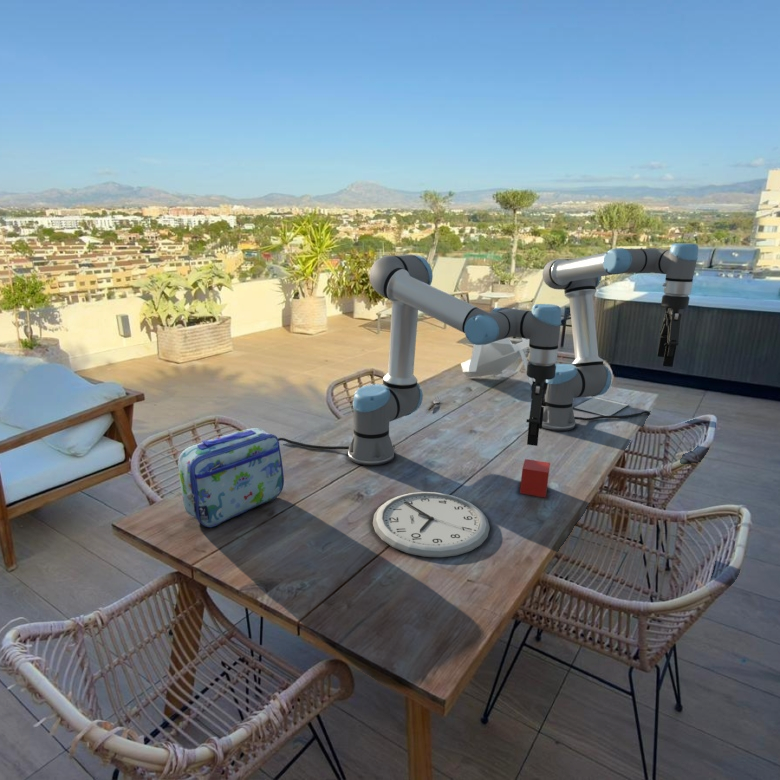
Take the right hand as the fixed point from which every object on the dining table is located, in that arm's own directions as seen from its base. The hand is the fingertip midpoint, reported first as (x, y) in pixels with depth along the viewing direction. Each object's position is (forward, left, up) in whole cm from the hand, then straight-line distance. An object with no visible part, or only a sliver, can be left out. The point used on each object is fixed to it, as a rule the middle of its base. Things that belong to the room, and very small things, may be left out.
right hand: (664, 361), depth 169 cm
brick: (+42, +32, -33) cm, 62 cm away
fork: (+75, -39, -33) cm, 90 cm away
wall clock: (+72, +54, -33) cm, 95 cm away
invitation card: (+2, -50, -33) cm, 60 cm away
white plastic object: (+44, -77, -33) cm, 95 cm away
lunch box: (+124, +55, -33) cm, 139 cm away
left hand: (+44, +33, -16) cm, 57 cm away
